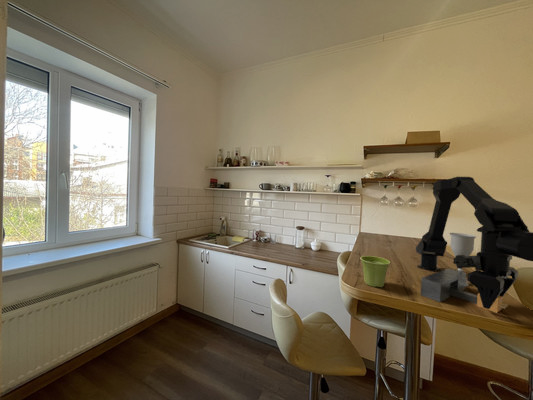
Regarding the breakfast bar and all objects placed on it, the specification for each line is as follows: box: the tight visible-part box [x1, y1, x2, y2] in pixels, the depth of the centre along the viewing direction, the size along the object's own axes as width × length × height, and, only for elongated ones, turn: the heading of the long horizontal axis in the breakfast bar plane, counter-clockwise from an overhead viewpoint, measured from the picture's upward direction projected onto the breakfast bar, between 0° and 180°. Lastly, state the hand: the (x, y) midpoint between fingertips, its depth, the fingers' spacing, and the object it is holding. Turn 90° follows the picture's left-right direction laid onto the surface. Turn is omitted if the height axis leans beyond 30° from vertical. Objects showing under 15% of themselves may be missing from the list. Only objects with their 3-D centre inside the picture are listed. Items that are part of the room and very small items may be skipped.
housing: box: [420, 268, 467, 303], centre depth 69 cm, size 20×5×6 cm, turn 120°
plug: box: [449, 287, 508, 314], centre depth 64 cm, size 16×4×4 cm, turn 30°
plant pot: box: [360, 255, 391, 288], centre depth 73 cm, size 9×9×9 cm
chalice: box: [449, 232, 477, 287], centre depth 77 cm, size 7×7×18 cm
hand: (491, 304), depth 60 cm, fingers open, 9 cm apart
